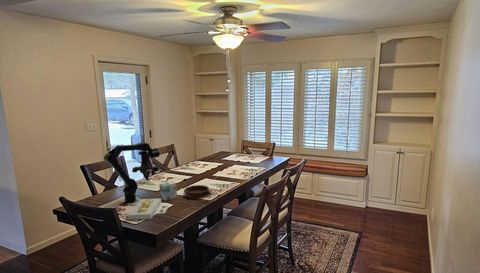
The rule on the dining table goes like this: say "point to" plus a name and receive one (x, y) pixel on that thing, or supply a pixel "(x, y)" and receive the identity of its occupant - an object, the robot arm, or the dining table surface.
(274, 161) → the dining table surface
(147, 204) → the button
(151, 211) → the board
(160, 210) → the card
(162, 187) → the light bulb box
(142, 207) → the button
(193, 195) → the dish
